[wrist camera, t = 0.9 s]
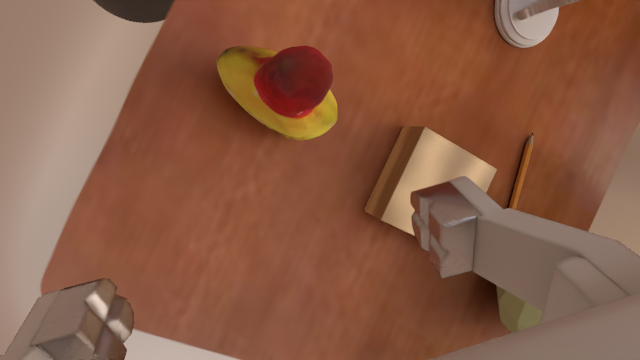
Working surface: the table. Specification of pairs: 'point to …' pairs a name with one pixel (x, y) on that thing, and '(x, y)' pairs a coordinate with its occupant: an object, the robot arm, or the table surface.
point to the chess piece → (527, 20)
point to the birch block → (421, 173)
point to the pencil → (521, 173)
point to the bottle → (282, 88)
